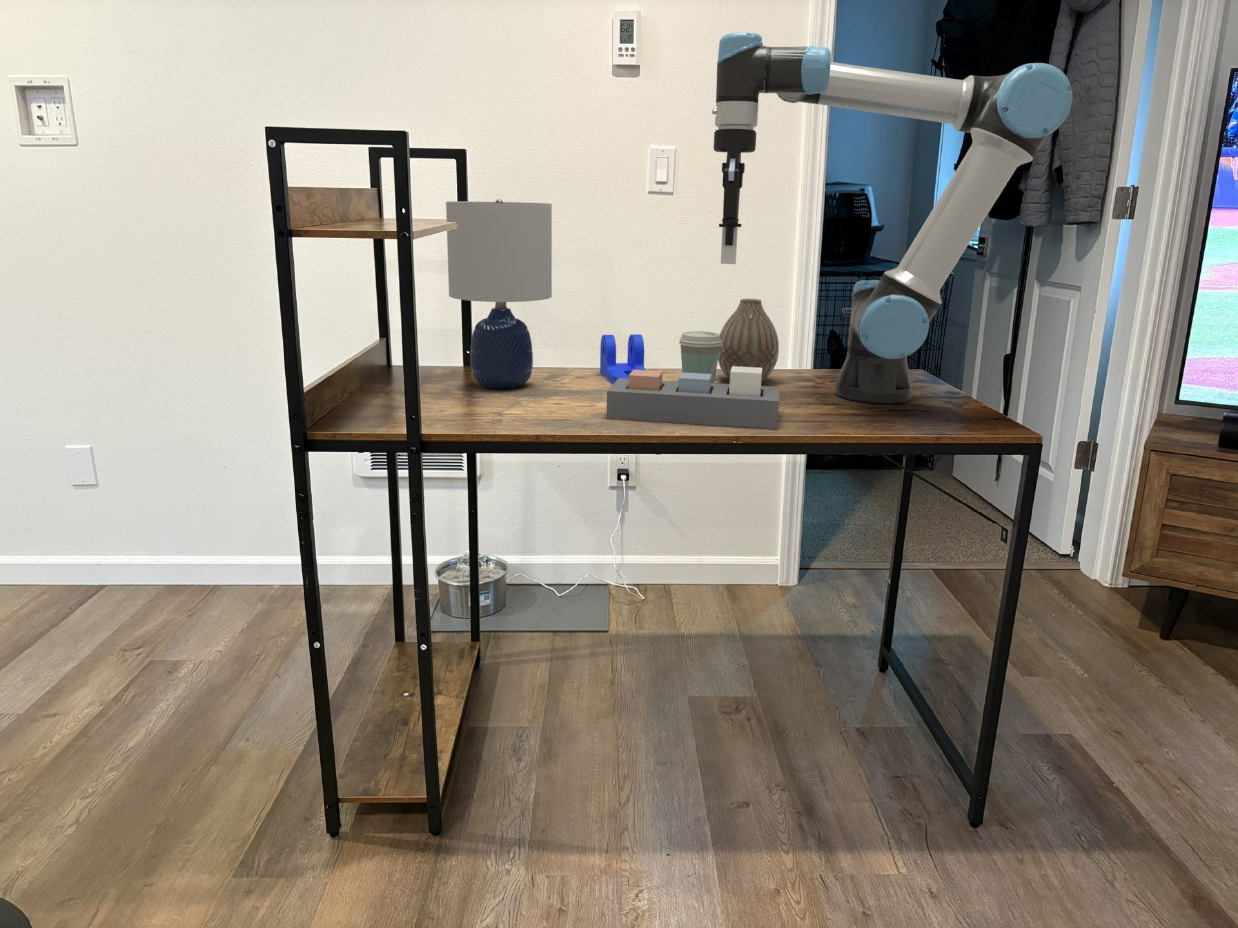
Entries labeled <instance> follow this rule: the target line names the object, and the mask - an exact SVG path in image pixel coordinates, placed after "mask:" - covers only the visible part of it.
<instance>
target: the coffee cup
mask: <svg viewBox="0 0 1238 928" xmlns="http://www.w3.org/2000/svg"><path fill="white" fill-rule="evenodd" d="M721 342H722V341H721V339H720V333H717V332H713V331H700V330H698V331H697V330H695V331H694V330H693V331H683V332H682V334H681V336H680V338H679V341H678V344H679V345H680V357H681V358H680V359H681V373H682V372H685V373H703V374H712V378H711V383H715V380H716V373H717V369H718V364H719V362H718V357H719V351H720V346H721V345H722V344H721Z"/></svg>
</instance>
